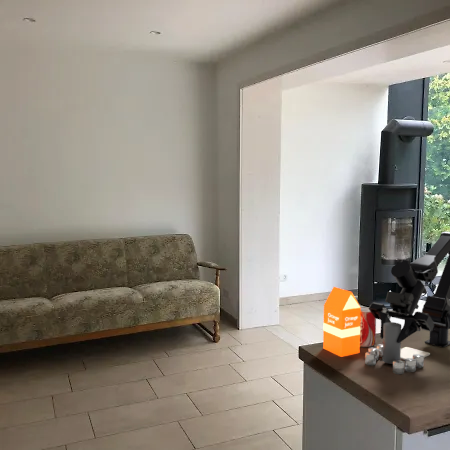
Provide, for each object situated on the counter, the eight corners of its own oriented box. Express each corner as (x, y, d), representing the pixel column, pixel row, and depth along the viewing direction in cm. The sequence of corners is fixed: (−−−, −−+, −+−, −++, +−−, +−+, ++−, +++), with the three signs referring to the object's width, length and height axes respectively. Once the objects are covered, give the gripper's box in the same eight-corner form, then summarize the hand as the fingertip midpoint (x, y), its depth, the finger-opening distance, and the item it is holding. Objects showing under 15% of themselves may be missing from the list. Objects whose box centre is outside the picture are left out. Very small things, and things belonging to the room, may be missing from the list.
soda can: (376, 349, 166) (377, 312, 165) (353, 347, 167) (354, 311, 166) (374, 342, 173) (375, 306, 171) (352, 340, 174) (353, 305, 173)
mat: (406, 348, 166) (406, 346, 166) (429, 354, 161) (430, 353, 161) (389, 355, 160) (389, 354, 160) (413, 362, 154) (414, 361, 154)
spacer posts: (379, 352, 162) (379, 343, 162) (425, 366, 151) (425, 356, 151) (358, 362, 155) (359, 352, 154) (405, 376, 144) (405, 366, 143)
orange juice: (341, 357, 159) (342, 293, 157) (322, 348, 167) (323, 287, 165) (360, 352, 163) (361, 290, 161) (341, 344, 170) (342, 285, 168)
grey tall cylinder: (388, 356, 156) (389, 321, 155) (403, 360, 153) (404, 324, 151) (379, 360, 153) (380, 324, 152) (394, 365, 149) (395, 328, 148)
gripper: (372, 276, 160) (351, 318, 154) (430, 286, 146) (410, 332, 140) (385, 297, 166) (365, 338, 160) (442, 308, 152) (423, 353, 146)
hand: (389, 340), depth 151 cm, fingers closed on grey tall cylinder, 5 cm apart
